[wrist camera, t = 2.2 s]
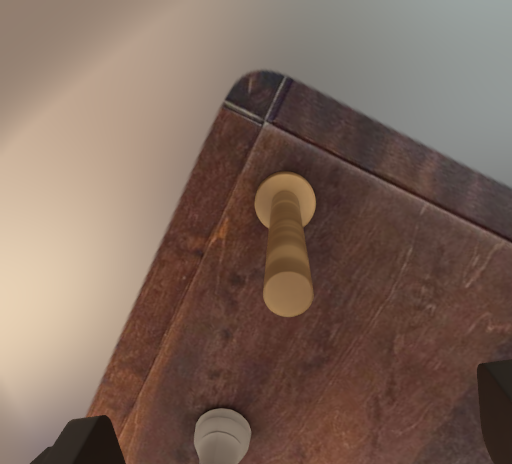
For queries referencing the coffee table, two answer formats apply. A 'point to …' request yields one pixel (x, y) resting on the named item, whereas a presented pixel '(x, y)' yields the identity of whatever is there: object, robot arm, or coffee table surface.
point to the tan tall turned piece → (286, 241)
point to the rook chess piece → (221, 437)
